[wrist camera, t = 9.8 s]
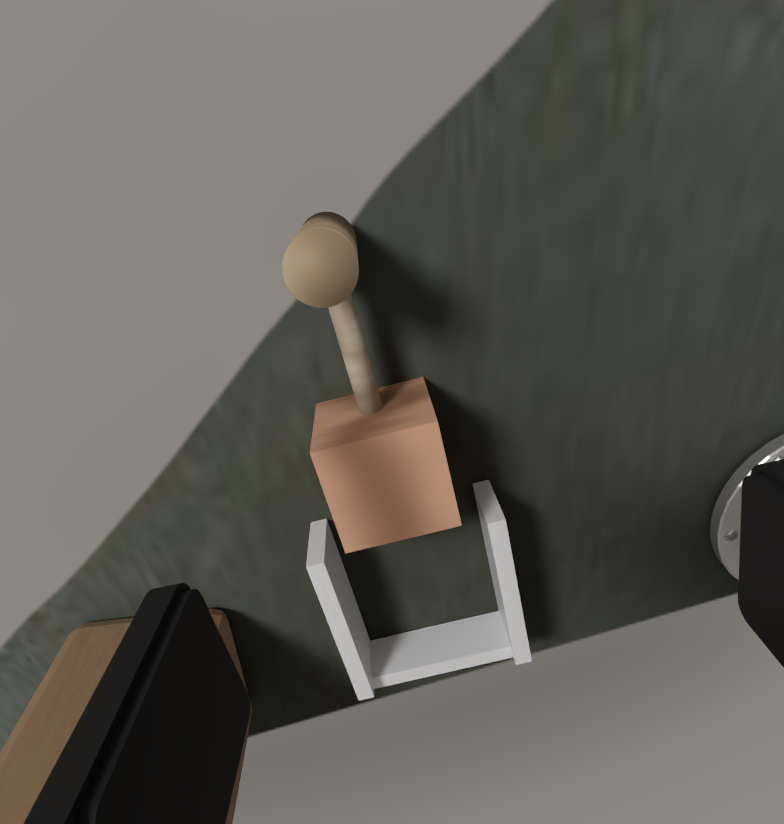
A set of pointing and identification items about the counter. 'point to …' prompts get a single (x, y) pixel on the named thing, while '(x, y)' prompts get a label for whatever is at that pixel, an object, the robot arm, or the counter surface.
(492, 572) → the white u-shaped bracket
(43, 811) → the robot arm
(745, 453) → the counter surface
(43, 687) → the wooden block
